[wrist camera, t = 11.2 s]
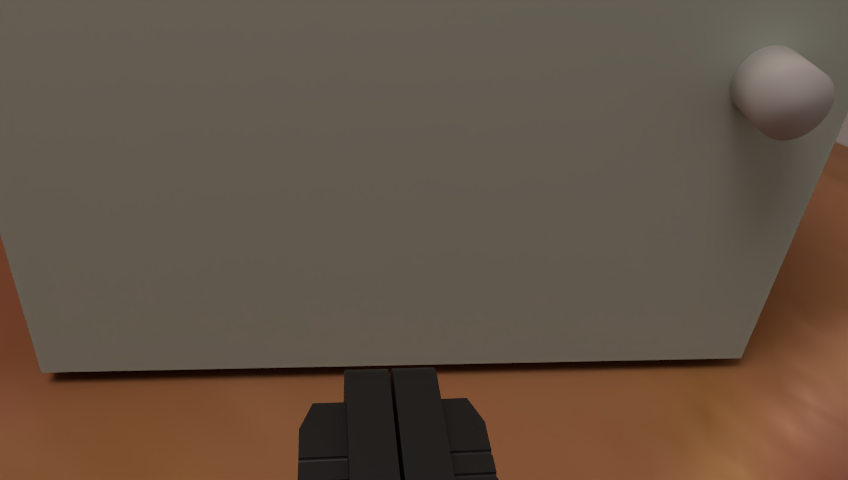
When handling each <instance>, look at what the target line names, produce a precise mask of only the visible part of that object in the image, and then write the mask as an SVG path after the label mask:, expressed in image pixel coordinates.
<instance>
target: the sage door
mask: <svg viewBox="0 0 848 480" xmlns="http://www.w3.org/2000/svg"><path fill="white" fill-rule="evenodd" d="M847 113H848V0H0V235H1V238H2V242H3V245H4V248H5V252H6V255H7V258H8V262H9V265H10V269H11V272H12V275H13V279H14V282H15V285H16V289H17V292H18V296H19V299H20V302H21V306H22V309H23V313H24V316H25V319H26V323H27V326H28V329H29V333H30V336H31V340H32V343H33V346H34V350H35V353H36V356H37V360H38V363H39V367H40V370H41V373H47V372H95V371H144V370H193V369H241V368H290V367H339V366H388V365H436V364H485V363H534V362H583V361H631V360H680V359H729V358H741V357H742V355H743V353H744V351H745V348H746V346H747V344H748V341H749V339H750V337H751V334H752V332H753V330H754V327H755V325H756V323H757V321H758V318H759V316H760V314H761V311H762V309H763V307H764V304H765V302H766V300H767V297H768V295H769V293H770V291H771V288H772V286H773V284H774V281H775V279H776V277H777V274H778V272H779V270H780V267H781V265H782V263H783V261H784V258H785V256H786V254H787V251H788V249H789V247H790V244H791V242H792V240H793V237H794V235H795V233H796V231H797V228H798V226H799V224H800V221H801V219H802V217H803V214H804V212H805V210H806V207H807V205H808V203H809V201H810V198H811V196H812V194H813V191H814V189H815V187H816V184H817V182H818V180H819V177H820V175H821V173H822V171H823V168H824V166H825V164H826V161H827V159H828V157H829V154H830V152H831V150H832V147H833V145H834V143H835V141H836V138H837V136H838V134H839V131H840V129H841V127H842V124H843V122H844V120H845V117H846V115H847Z"/></svg>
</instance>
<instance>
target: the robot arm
mask: <svg viewBox="0 0 848 480" xmlns="http://www.w3.org/2000/svg"><path fill="white" fill-rule="evenodd" d="M298 480H498V478H497V477H496V468H495V464H494V460H493V455H491V447H490V442H489V438H488V434H487V430H486V425H485V422H484V420H483V419H482V418H481V416H480V415H479V414H478V412H477V411H476V410H475V408H474V407H473V406H472V404H471V403H470V402H469V400H468V399H467V398H456V399H441V396H440V390H439V385H438V379H437V374H436V370H435V368H434V367H428V368H392V369H391V371H390V377H389V371H388V369H363V370H345V372H344V402H343V403H313V404H312V406H311V408H310V410H309V412H308V414H307V416H306V417H305V419H304V421H303V423H302V425H301V427H300V429H299V463H298Z"/></svg>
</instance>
